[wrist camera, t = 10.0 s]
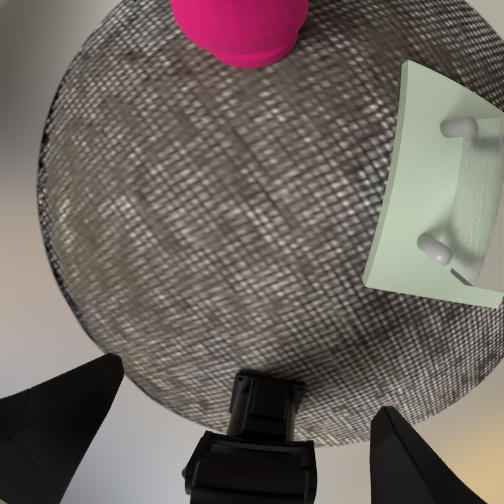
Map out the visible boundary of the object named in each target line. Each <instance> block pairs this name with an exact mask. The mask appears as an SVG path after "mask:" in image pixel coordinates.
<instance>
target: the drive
mask: <svg viewBox="0 0 504 504" xmlns="http://www.w3.org/2000/svg"><path fill="white" fill-rule="evenodd" d="M475 121H476V123H477V125H478V133H477V135H476V136H472V137H463V144H462V152H461V160H460V166H459V173H458V178H457V184H456V189H455V194H454V199H453V203H452V208H451V212H450V216H449V220H448V224H447V227H446V231H445V234H444V238H443V241H442V243H443V244H444V245H446V246H447V247H449V248H450V249H451V250H452V259H451V261H450V263H449V264H448V265H449V266H450V267H452V268H451V271H450V273H452V274H453V275H454V276H455V277H456V278H457V279H458V280H460V281H461V282H462V283H463V284H464V285H467V286H472V287H477V288H482V289H487V290H491V291H496V292H501V293H504V117H501V118H490V119H480V120H475Z"/></svg>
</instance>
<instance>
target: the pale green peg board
mask: <svg viewBox="0 0 504 504" xmlns="http://www.w3.org/2000/svg"><path fill="white" fill-rule="evenodd" d="M501 117H504V112H502V111H501V110H499V109H498V108H497V107H495V106H494V105H492V104H491V103H489V102H488V101H486V100H485V99H483V98H482V97H480V96H478V95H477V94H475V93H474V92H472V91H470V90H469V89H467V88H465V87H464V86H462V85H460V84H458V83H456V82H455V81H453V80H451V79H449V78H447V77H445V76H443V75H441V74H439V73H437V72H435V71H433V70H431V69H429V68H426V67H424V66H422V65H420V64H417V63H415V62H413V61H410V60H407V61H406V62H404V63H403V64H402V72H401V88H400V100H399V110H398V119H397V127H396V134H395V141H394V147H393V153H392V159H391V165H390V170H389V176H388V181H387V186H386V190H385V195H384V199H383V204H382V208H381V212H380V216H379V220H378V224H377V228H376V232H375V236H374V239H373V243H372V247H371V250H370V254H369V257H368V260H367V264H366V267H365V270H364V273H363V276H362V281H363V283H364V285H365V287H369V288H375V289H380V290H386V291H392V292H398V293H404V294H410V295H415V296H421V297H427V298H433V299H440V300H446V301H452V302H458V303H464V304H471V305H477V306H484V307H490V308H497V309H498V307H499V305H500V303H501V300H502V298H503V296H504V293H501V292H496V291H491V290H487V289H482V288H477V287H472V286H467V285H464V284H463V283H462V282H461V281H460V280H458V279H457V278H456V277H455V276H454V275H453V274H452V273H450V271H451V268H452V267H450V266H449V265H448V264H449V263H450V261H451V259H452V250H451V249H450V248H449V247H447V246H446V245H444V244H443V243H442V241H443V238H444V234H445V231H446V227H447V224H448V220H449V216H450V212H451V208H452V203H453V199H454V194H455V189H456V184H457V178H458V173H459V166H460V160H461V152H462V144H463V137H472V136H476V135H477V133H478V125H477V123H476V121H475V120H480V119H490V118H501Z"/></svg>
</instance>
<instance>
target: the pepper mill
mask: <svg viewBox="0 0 504 504" xmlns="http://www.w3.org/2000/svg"><path fill="white" fill-rule="evenodd" d="M171 6H172V10H173V14H174V17H175V19H176V21H177V23H178V25H179V27H180V28H181V29H182V31H183V32H184V34H185V35H186V36H187V37H188V38H189V39H190V40H191V41H192V42H193V43H195V44H197V45H198V46H200V47H202V48H204V49H206V50H209V51H211V52H212V54H213V55H214V56H215V57H216V58H217V59H219V60H220V61H222V62H223V63H226V64H228V65H230V66H234V67H238V68H247V69H249V68H260V67H265V66H268V65H271V64H273V63H275V62H277V61H279V60H281V59H282V58H284V57H285V56H286V55H287V54H289V53H290V51H291V50H292V49H293V47H294V46H295V43H296V41H297V38H298V30H299V29H300V28H301V26H302V25H303V23H304V21H305V19H306V17H307V13H308V8H309V0H171Z"/></svg>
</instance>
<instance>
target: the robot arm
mask: <svg viewBox="0 0 504 504" xmlns="http://www.w3.org/2000/svg"><path fill="white" fill-rule="evenodd" d="M123 377H124V369H123V364H122V359H121V357H120V356H119V355H116V354H114V353H107V354H105V355H103V356H101V357H99V358H96V359H94V360H92V361H90V362H88V363H86V364H83V365H81V366H79V367H77V368H75V369H72V370H70V371H68V372H66V373H63V374H61V375H59V376H57V377H54V378H52V379H50V380H47V381H45V382H43V383H41V384H38V385H36V386H34V387H31V389H30V388H29V389H26V390H24V391H21V392H19V393H16V394H14V395H11V396H8V397H5V398H1V399H0V504H60V502H61V500H62V498H63V495H64V493H65V492H66V489H67V487H68V486H69V484H70V482H71V479H72V478H73V476H74V474H75V472H76V470H77V468H78V466H79V464H80V462H81V461H82V459H83V457H84V455H85V453H86V451H87V449H88V448H89V446H90V444H91V442H92V440H93V438H94V437H95V435H96V433H97V431H98V430H99V428H100V426H101V424H102V422H103V421H104V419H105V417H106V415H107V414H108V412H109V410H110V408H111V405H112V403H113V401H114V398H115V396H116V393H117V391H118V389H119V387H120V384H121V382H122V380H123ZM240 377H242V378H240ZM300 387H302V388H300ZM305 391H306V384H305V383H303V382H296V381H289V380H282V379H276V378H270V377H264V376H259V375H253V374H248V373H243V372H238V373H236V376H235V381H234V386H233V392H232V398H231V403H230V409H229V412H230V413H231V414H232V415H231V419H230V423H229V427H228V430H227V434H226V435H224V434H218V433H213V432H212V431H207V430H206V431H205V433H204V436H203V437H201V439H200V441H199V443H198V445H197V446H196V448H195V450H194V452H193V454H192V456H191V458H190V460H189V462H188V464H187V465H186V467H185V468H184V469H183V471H182V476H183V478H184V479H185V491H186V494H187V495H191V498H190V504H314V500H315V496H316V490H317V468H316V459H315V450H314V442H313V440H307V441H294V423H295V413H296V411H297V409H298V406H299V404H300V402H301V400H302V398H303V396H304V393H305ZM370 477H371V504H487V503H486V502H485V501H484V500H482V499H481V498H480V497H479V496H478V495H476V494H475V493H474V492H473V491H472V490H471V489H470V488H468V487H467V486H466V485H465V484H464V483H463V482H462V481H461V480H460V479H459V478H458V477H457V476H456V475H455V474H454V473H453V472H452V471H451V469H450V468H448V466H447V465H446V464H445V463H444V462H443V461H442V459H441V458H440V457H439V456H438V455H437V454H436V453H435V452H434V451H433V449H432V448H431V447H430V446H429V445H428V444H427V443H426V442H425V441H424V440H423V438H422V437H421V436H420V435H419V434H418V433H417V432H416V431H415V430H414V429H413V427H412V426H411V425H410V424H409V423H408V422H407V421H406V420H405V418H404V417H403V416H402V415H401V414H400V413H399V412H398V411H397V410H396V408H395V407H393V406H383V407H381V408H380V410H379V411H378V412H377V414H376V415H375V416H374V418H373V419H372V421H371V434H370Z"/></svg>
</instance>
